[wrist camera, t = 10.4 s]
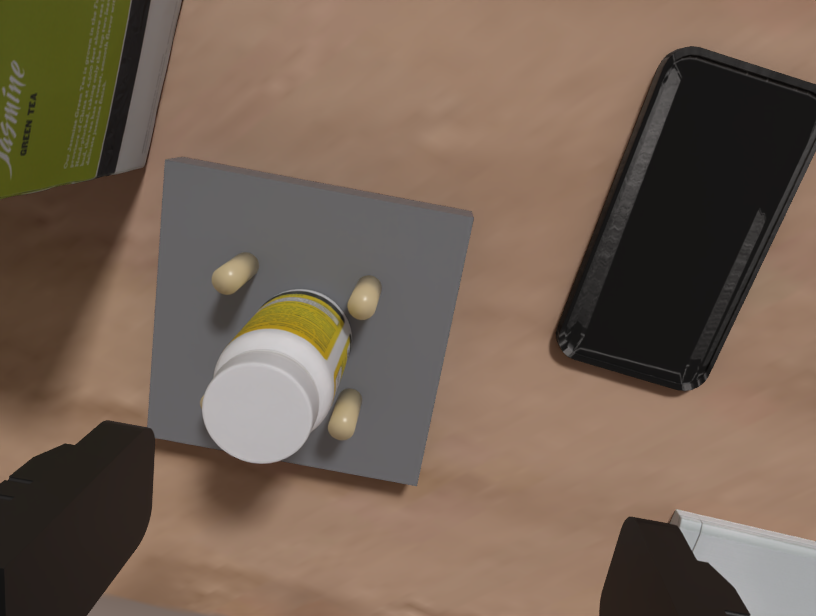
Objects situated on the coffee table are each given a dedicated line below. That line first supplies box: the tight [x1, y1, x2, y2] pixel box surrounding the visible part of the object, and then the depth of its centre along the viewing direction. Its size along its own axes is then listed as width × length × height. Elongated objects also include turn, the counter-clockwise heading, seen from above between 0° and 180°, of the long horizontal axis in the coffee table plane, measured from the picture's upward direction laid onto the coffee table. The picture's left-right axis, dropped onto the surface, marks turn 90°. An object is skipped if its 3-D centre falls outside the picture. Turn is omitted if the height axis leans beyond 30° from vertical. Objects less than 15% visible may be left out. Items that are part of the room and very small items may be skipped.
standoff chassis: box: [147, 157, 474, 486], centre depth 30 cm, size 14×14×5 cm
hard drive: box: [670, 509, 816, 616], centre depth 36 cm, size 2×8×12 cm
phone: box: [556, 46, 816, 391], centre depth 30 cm, size 8×1×15 cm
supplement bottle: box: [202, 289, 352, 464], centre depth 26 cm, size 5×5×8 cm
